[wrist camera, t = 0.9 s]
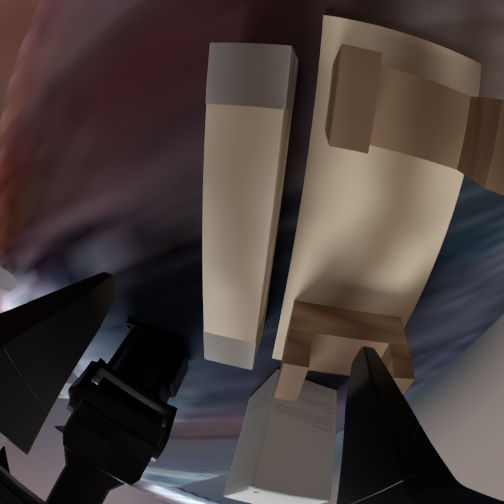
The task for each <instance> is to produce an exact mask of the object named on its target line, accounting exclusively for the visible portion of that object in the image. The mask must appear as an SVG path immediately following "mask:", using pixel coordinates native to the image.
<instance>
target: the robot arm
mask: <svg viewBox="0 0 504 504" xmlns="http://www.w3.org/2000/svg"><path fill="white" fill-rule="evenodd" d="M115 297H116V285H115V278H114V276H113V275H112V274H109V273H106V272H103V273H100V274H97V275H95V276H92V277H90V278H87V279H84V280H82V281H79V282H77V283H74V284H72V285H69V286H67V287H64V288H62V289H59V290H57V291H54V292H52V293H50V294H47V295H45V296H42V297H40V298H37V299H35V300H33V301H30V302H28V303H27V304H23V305H21V306H18V307H16V308H13V309H11V310H8V311H6V312H3V313H0V504H102V503H103V501H104V500H105V498H106V496H107V494H108V492H109V491H110V490H112V489H114V488H117V487H119V486H121V485H124V484H127V485H132V484H134V483H135V482H137V481H139V480H140V478H141V476H142V474H143V472H144V470H145V468H146V467H147V465H148V463H149V462H154V461H155V460H157V458H158V457H159V456H160V455H161V453H162V452H163V450H164V448H165V446H166V444H167V442H168V439H169V435H170V432H171V428H172V425H173V422H174V418H175V415H176V411H177V408H176V407H174V406H171V405H169V404H167V401H168V399H169V397H171V398H174V397H175V396H176V394H177V392H178V390H179V388H180V385H181V383H182V381H183V379H184V377H185V376H186V374H187V370H188V365H187V357H186V354H185V353H184V345H183V339H182V337H181V336H179V335H176V334H173V333H169V332H166V331H162V330H159V329H155V328H152V327H149V326H145V325H142V324H139V323H136V322H133V321H129V320H128V321H127V322H126V323H125V327H126V331H127V334H128V335H127V336H126V338H125V339H124V341H123V342H122V344H121V345H120V346H119V348H118V349H117V351H116V352H115V354H114V355H113V357H112V358H111V359H110V361H109V362H108V364H106V363H105V361H104V360H102V359H101V358H100V359H99V361H98V362H94V361H91V362H90V364H89V365H88V367H87V368H86V369H85V371H84V372H83V373H82V374H81V375H80V377H79V378H78V379H77V380H76V381H75V382H74V383H73V384H72V385H71V387H70V388H69V390H68V393H69V397H70V398H69V401H68V402H69V404H68V406H67V410H69V411H70V412H71V413H72V414H71V416H70V418H69V419H68V421H67V423H66V425H65V426H64V428H63V445H64V451H65V460H66V464H65V466H64V468H63V470H62V472H61V474H60V475H59V477H58V479H57V481H56V483H55V484H54V486H53V488H52V490H51V492H50V494H49V496H48V498H47V500H46V501H43V500H42V499H41V498H39V497H38V496H37V495H35V494H34V493H33V492H31V491H30V490H29V489H28V488H26V487H25V486H24V485H23V484H21V483H20V482H19V481H18V480H17V479H15V478H14V477H13V476H12V475H11V474H10V471H9V466H8V462H7V457H6V452H5V447H4V446H3V445H4V443H5V442H6V440H7V439H8V440H9V441H11V442H12V443H13V444H14V445H15V446H17V447H18V448H19V449H20V450H22V451H23V452H24V453H25V454H28V452H29V451H30V449H31V446H32V445H33V443H34V441H35V439H36V437H37V435H38V433H39V431H40V429H41V427H42V425H43V423H44V421H45V419H46V417H47V416H48V413H49V412H50V410H51V408H52V406H53V404H54V402H55V401H56V399H57V397H58V396H59V394H60V392H61V390H62V389H63V387H64V385H65V383H66V382H67V380H68V378H69V377H70V375H71V373H72V372H73V370H74V368H75V367H76V365H77V363H78V362H79V360H80V358H81V357H82V355H83V354H84V352H85V350H86V349H87V347H88V346H89V344H90V343H91V341H92V339H93V338H94V336H95V335H96V333H97V332H98V330H99V328H100V326H101V325H102V323H103V321H104V319H105V317H106V315H107V313H108V311H109V309H110V307H111V305H112V303H113V302H114V300H115ZM94 382H96V383H98V385H96V384H95V383H94ZM337 504H504V501H501V500H498V499H495V498H492V497H490V496H487V495H484V494H482V493H479V492H477V491H474V490H472V489H469V488H467V487H465V486H463V485H462V484H460V483H459V482H458V481H457V480H456V479H455V477H454V476H453V475H452V473H451V472H450V470H449V469H448V467H447V466H446V465H445V463H444V462H443V460H442V459H441V457H440V456H439V454H438V453H437V451H436V450H435V448H434V447H433V445H432V444H431V442H430V440H429V439H428V437H427V435H426V434H425V432H424V430H423V428H422V427H421V425H420V424H419V421H418V420H417V418H416V416H415V415H414V413H413V411H412V409H411V408H410V406H409V404H408V402H407V401H406V399H405V397H404V396H403V394H402V392H401V391H400V389H399V387H398V386H397V384H396V382H395V381H394V379H393V377H392V376H391V374H390V372H389V371H388V369H387V368H386V366H385V364H384V363H383V361H382V360H381V358H380V356H379V355H378V353H377V352H376V350H375V349H374V348H373V347H368V346H363V347H361V349H360V350H359V352H358V353H357V355H356V357H355V358H354V360H353V362H352V365H351V371H350V378H349V385H348V392H347V398H346V407H345V424H344V439H343V452H342V463H341V473H340V481H339V490H338V497H337Z"/></svg>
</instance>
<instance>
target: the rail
mask: <svg viewBox="0 0 504 504" xmlns="http://www.w3.org/2000/svg"><path fill="white" fill-rule="evenodd" d="M298 62H299V60H298V58H297V56H296V54H295V52H294V50H293V48H292V46H288V45H276V44H261V43H210V51H209V62H208V75H207V89H206V104H207V105H206V123H205V144H204V171H203V222H202V265H203V316H204V331H203V336H204V358H205V359H207V360H211V361H215V362H219V363H223V364H228V365H232V366H236V367H241V368H245V369H250V370H252V369H253V365H254V362H255V358H256V354H257V351H258V347H259V343H260V339H261V336H262V332H263V328H264V324H265V318H266V311H267V305H268V298H269V297H268V294H269V287H270V280H271V273H272V266H273V259H274V252H275V245H276V238H277V231H278V223H279V216H280V208H281V201H282V193H283V185H284V177H285V169H286V161H287V153H288V145H289V136H290V128H291V119H292V110H293V108H294V100H295V90H296V81H297V71H298Z"/></svg>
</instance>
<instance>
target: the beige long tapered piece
mask: <svg viewBox="0 0 504 504" xmlns="http://www.w3.org/2000/svg"><path fill="white" fill-rule="evenodd" d="M481 65H482V64H480V63H478V62H476V61H474V60H472V59H470V58H468V57H466V56H463V55H461V54H459V53H457V52H454V51H452V50H450V49H447V48H445V47H442V46H440V45H437V44H435V43H432V42H429V41H426V40H424V39H421V38H418V37H415V36H412V35H409V34H405V33H402V32H399V31H396V30H392V29H388V28H385V27H381V26H377V25H373V24H369V23H364V22H360V21H355V20H350V19H345V18H339V17H334V16H327V15H323V27H322V38H321V49H320V59H319V69H318V78H317V87H316V96H315V104H314V112H313V120H312V128H311V136H310V143H309V150H308V158H307V165H306V172H305V178H304V185H303V192H302V198H301V204H300V211H299V217H298V223H297V229H296V235H295V241H294V247H293V252H292V258H291V264H290V269H289V275H288V280H287V286H286V291H285V296H284V301H283V307H282V312H281V317H280V322H279V327H278V332H277V337H276V341H275V346H274V351H273V356H272V359H278V360H282V361H281V366H280V371H279V376H278V381H277V387H276V392H275V396H274V398H278V399H283V400H289V401H295V402H296V400H297V398H298V395H299V392H300V390H301V387H302V385H303V382H304V380H305V377H306V374H307V372H308V370H311V371H318V372H324V373H332V374H339V375H347V376H350V371H351V365H352V362H353V360H354V358H355V357H356V355H357V353H358V352H359V350H360V349H361V347H363V346H368V347H373V348H374V349H375V350H376V352H377V353H378V355H379V356H380V358H381V360H382V361H383V363H384V364H385V366H386V368H387V369H388V371H389V372H390V374H391V376H392V377H393V379H394V381H395V382H396V384H397V386H398V387H399V389H400V391H401V392H402V394H404V393H405V391H406V390H407V389H408V388H409V386H410V385H411V384H412V382H413V381H414V380H415V377H414V372H413V367H412V362H411V357H410V353H409V348H408V344H407V340H406V335H405V331H404V328H405V326H406V324H407V322H408V320H409V318H410V316H411V314H412V312H413V310H414V308H415V306H416V304H417V302H418V300H419V298H420V295H421V293H422V291H423V289H424V287H425V284H426V282H427V280H428V278H429V275H430V273H431V271H432V268H433V266H434V263H435V261H436V258H437V256H438V253H439V251H440V248H441V245H442V243H443V240H444V237H445V235H446V232H447V229H448V226H449V223H450V220H451V217H452V214H453V211H454V208H455V205H456V201H457V198H458V194H459V191H460V187H461V184H462V180H463V176H464V175H466V176H467V177H469V178H470V179H472V180H473V181H475V182H476V183H478V184H479V185H480V186H482V187H483V188H485V189H488V190H490V191H493V192H496V193H498V194H501V195H503V196H504V101H503V100H501V99H492V98H483V97H479V89H480V79H481Z"/></svg>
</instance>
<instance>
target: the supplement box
mask: <svg viewBox="0 0 504 504" xmlns="http://www.w3.org/2000/svg"><path fill="white" fill-rule="evenodd" d="M279 371H280V370H279V369H277V370H276V371H275V372H274V373H273V374H272V375H271V376H270V378H269V379H268V380H267V381H266V382H265V383H264V384H263V385H262V386H261V387H260V388H259V389H258V390H257V391H256V392H255V393H254V394H253V395H252V396H251V397H250V399H249V402H248V407H247V410H246V414H245V418H244V422H243V425H242V430H241V433H240V437H239V441H238V444H237V448H236V451H235V455H234V459H233V462H232V466H231V469H230V473H229V477H228V481H227V484H226V487H225V491H224V494H223V496H225V497H228V498H232V499H236V500H240V501H244V502H248V503H253V504H321V503H325V502H329V501H330V498H331V485H332V475H333V463H334V450H335V435H336V409H337V391H336V390H334V389H331V388H328V387H325V386H322V385H319V384H316V383H313V382H311V381H308V380H304V382H303V385H302V387H301V390H300V392H299V395H298V398H297V400H296V402H295V401H289V400H283V399H278V398H274V396H275V392H276V387H277V381H278V376H279Z"/></svg>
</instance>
